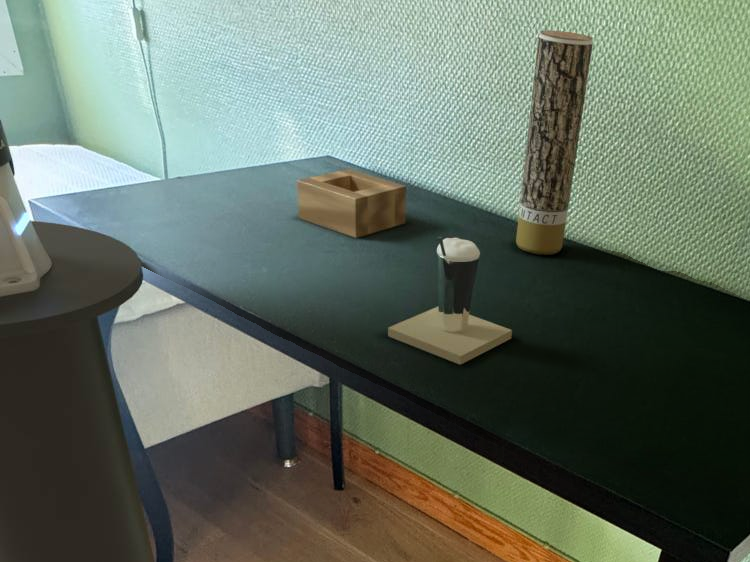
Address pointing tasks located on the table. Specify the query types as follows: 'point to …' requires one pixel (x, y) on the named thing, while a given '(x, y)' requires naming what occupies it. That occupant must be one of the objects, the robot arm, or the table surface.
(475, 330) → the mat
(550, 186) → the paper tube
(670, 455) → the table surface
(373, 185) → the holder
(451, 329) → the milkshake
